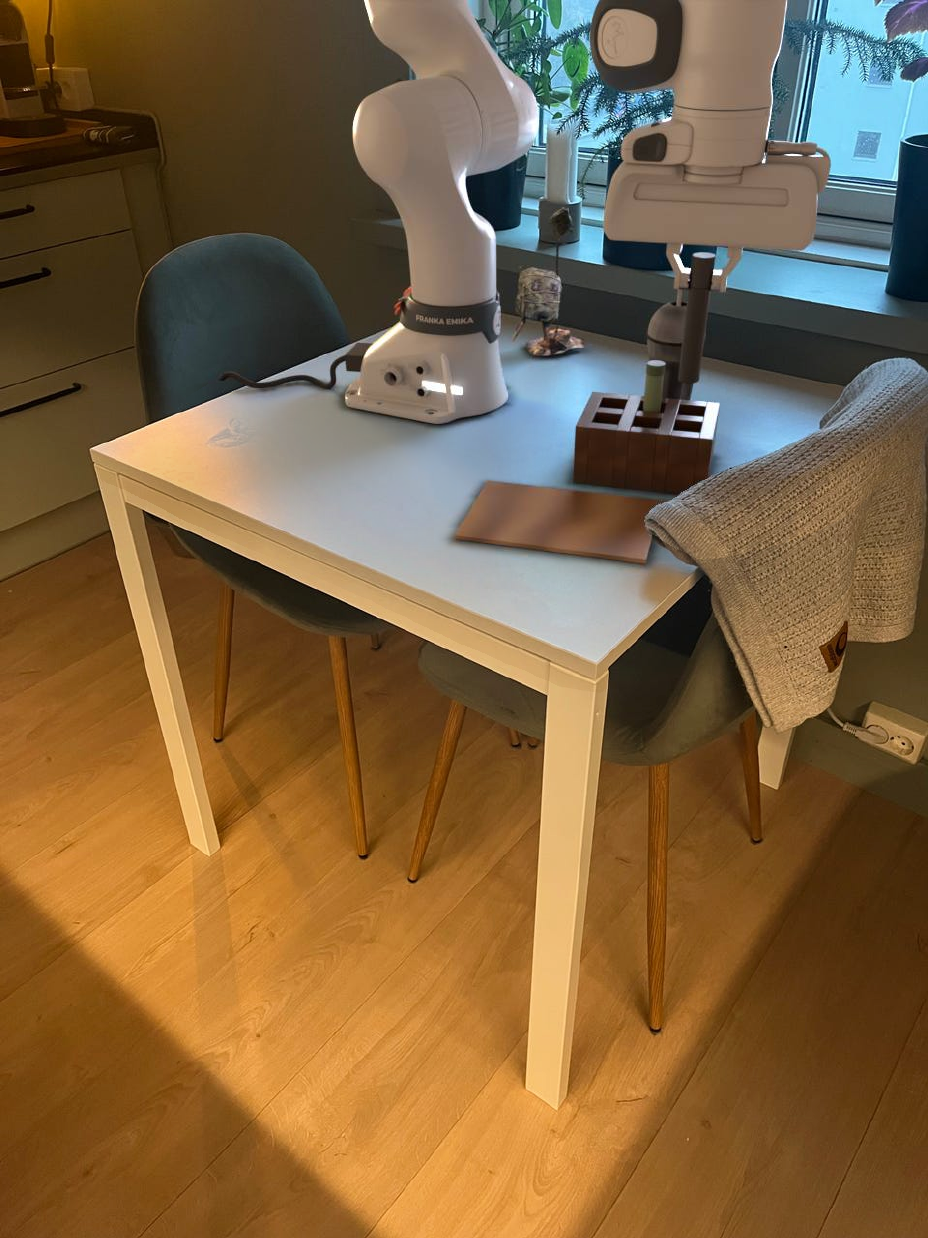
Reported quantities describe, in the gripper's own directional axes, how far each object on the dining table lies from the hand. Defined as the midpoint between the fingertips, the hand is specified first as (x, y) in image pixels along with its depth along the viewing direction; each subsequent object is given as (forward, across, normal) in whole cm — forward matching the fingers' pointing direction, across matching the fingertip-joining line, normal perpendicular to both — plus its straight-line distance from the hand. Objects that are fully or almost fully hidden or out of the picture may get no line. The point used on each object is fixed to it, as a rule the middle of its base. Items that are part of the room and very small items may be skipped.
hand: (699, 289), depth 97 cm
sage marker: (+22, +4, -5) cm, 23 cm away
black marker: (+10, 0, 0) cm, 10 cm away
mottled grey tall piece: (+23, +24, -41) cm, 52 cm away
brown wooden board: (+22, +11, +12) cm, 27 cm away
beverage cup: (+22, +3, -17) cm, 28 cm away
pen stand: (+22, +4, -3) cm, 22 cm away
